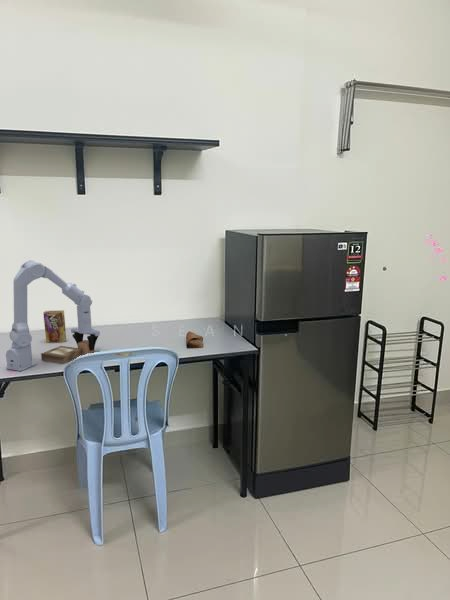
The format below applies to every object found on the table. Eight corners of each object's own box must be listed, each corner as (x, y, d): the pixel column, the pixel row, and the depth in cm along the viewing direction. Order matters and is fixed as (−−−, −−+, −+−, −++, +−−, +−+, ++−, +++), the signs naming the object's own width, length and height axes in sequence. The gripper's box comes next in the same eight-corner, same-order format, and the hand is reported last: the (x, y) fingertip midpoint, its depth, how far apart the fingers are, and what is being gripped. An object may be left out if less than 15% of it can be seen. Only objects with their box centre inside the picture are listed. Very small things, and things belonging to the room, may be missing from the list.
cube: (87, 354, 199) (86, 344, 198) (78, 353, 201) (77, 342, 200) (94, 351, 204) (94, 341, 202) (85, 350, 205) (85, 339, 204)
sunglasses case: (204, 347, 208) (197, 336, 206) (191, 355, 208) (184, 344, 206) (203, 336, 225) (196, 326, 224) (191, 343, 226) (184, 333, 224)
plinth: (63, 363, 187) (63, 357, 187) (41, 360, 192) (41, 353, 191) (82, 355, 198) (82, 348, 198) (61, 351, 203) (60, 345, 202)
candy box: (66, 339, 221) (64, 309, 218) (64, 342, 217) (62, 311, 214) (48, 340, 220) (45, 310, 217) (45, 342, 216) (43, 312, 213)
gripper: (103, 319, 200) (105, 348, 203) (77, 316, 205) (79, 344, 208) (93, 323, 194) (95, 353, 196) (66, 320, 199) (69, 349, 202)
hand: (86, 349), depth 202 cm, fingers open, 6 cm apart
